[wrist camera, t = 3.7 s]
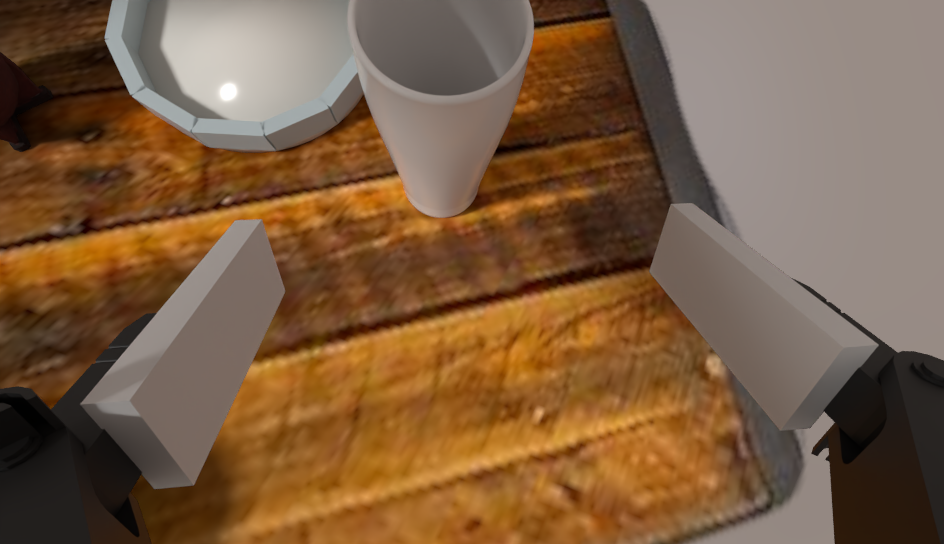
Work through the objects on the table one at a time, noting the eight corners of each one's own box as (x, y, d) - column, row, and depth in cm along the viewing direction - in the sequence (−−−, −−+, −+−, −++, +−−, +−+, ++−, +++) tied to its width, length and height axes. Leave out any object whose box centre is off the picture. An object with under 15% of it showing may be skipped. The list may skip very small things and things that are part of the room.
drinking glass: (428, 124, 29) (417, -96, 15) (505, 174, 29) (572, 1, 14) (374, 195, 28) (301, 32, 13) (454, 248, 28) (469, 141, 13)
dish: (84, 73, 28) (50, 46, 25) (235, -87, 31) (218, -124, 29) (287, 196, 27) (272, 182, 25) (419, 21, 31) (417, -7, 28)
